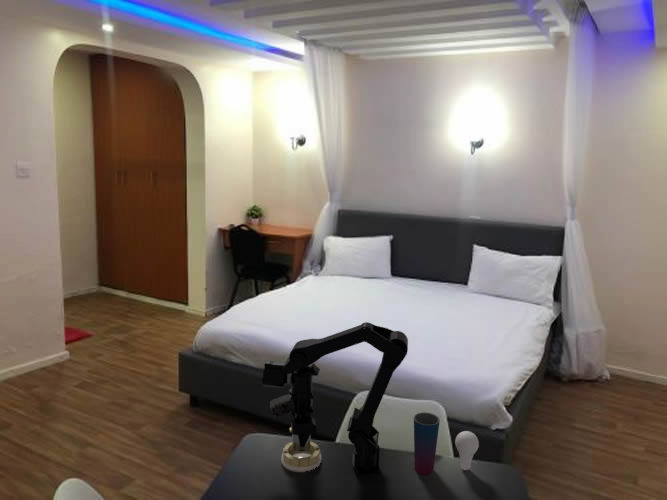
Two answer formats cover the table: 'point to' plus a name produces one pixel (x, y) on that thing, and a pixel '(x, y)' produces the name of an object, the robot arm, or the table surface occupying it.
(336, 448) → the table surface
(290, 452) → the ring
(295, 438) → the bayonet cap
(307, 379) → the robot arm
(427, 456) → the cup
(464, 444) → the lightbulb
